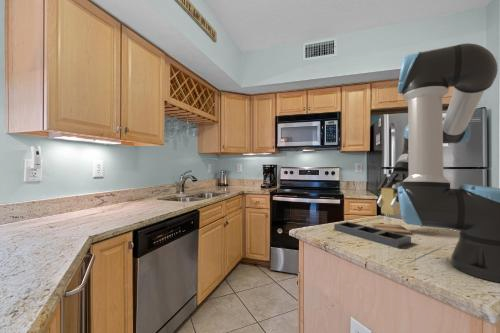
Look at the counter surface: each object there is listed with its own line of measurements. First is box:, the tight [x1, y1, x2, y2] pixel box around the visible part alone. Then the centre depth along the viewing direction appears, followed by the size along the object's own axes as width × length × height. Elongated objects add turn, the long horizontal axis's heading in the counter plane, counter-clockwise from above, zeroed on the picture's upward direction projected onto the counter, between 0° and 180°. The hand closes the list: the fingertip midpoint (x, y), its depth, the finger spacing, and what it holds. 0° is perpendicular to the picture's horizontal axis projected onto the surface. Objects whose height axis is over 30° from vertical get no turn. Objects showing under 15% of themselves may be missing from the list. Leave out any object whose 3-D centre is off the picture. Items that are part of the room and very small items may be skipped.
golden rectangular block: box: [380, 187, 400, 216], centre depth 102 cm, size 5×5×11 cm
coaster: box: [370, 223, 413, 236], centre depth 102 cm, size 12×12×2 cm
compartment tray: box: [333, 221, 412, 249], centre depth 94 cm, size 26×9×3 cm, turn 32°
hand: (385, 205), depth 100 cm, fingers closed on golden rectangular block, 5 cm apart
